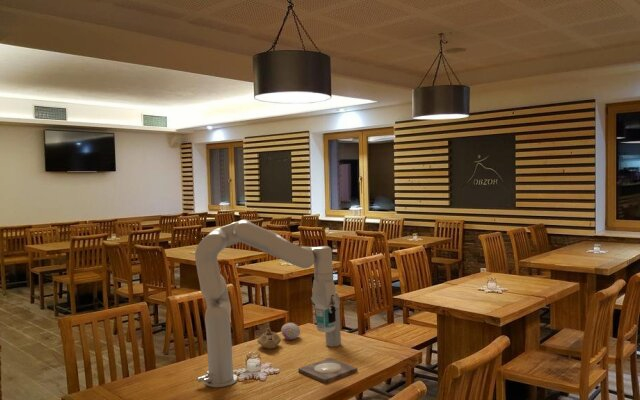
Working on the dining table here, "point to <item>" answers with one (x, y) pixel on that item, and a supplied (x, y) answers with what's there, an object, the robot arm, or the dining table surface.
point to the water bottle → (334, 336)
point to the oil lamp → (269, 339)
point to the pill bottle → (323, 319)
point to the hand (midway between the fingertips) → (325, 319)
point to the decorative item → (290, 331)
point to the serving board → (327, 370)
